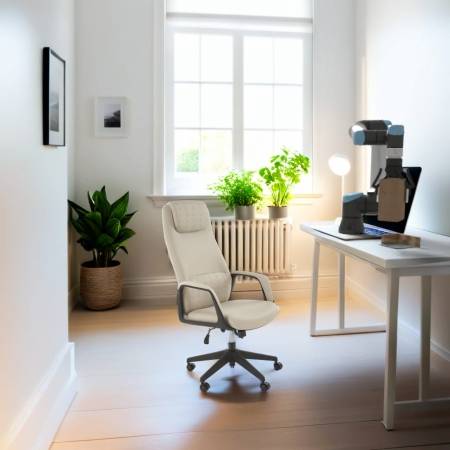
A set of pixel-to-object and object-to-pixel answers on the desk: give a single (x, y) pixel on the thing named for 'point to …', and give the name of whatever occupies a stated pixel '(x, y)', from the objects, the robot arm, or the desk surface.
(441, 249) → the desk surface
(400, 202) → the wooden block
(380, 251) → the desk surface
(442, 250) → the desk surface
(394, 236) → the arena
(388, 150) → the robot arm
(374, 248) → the desk surface
